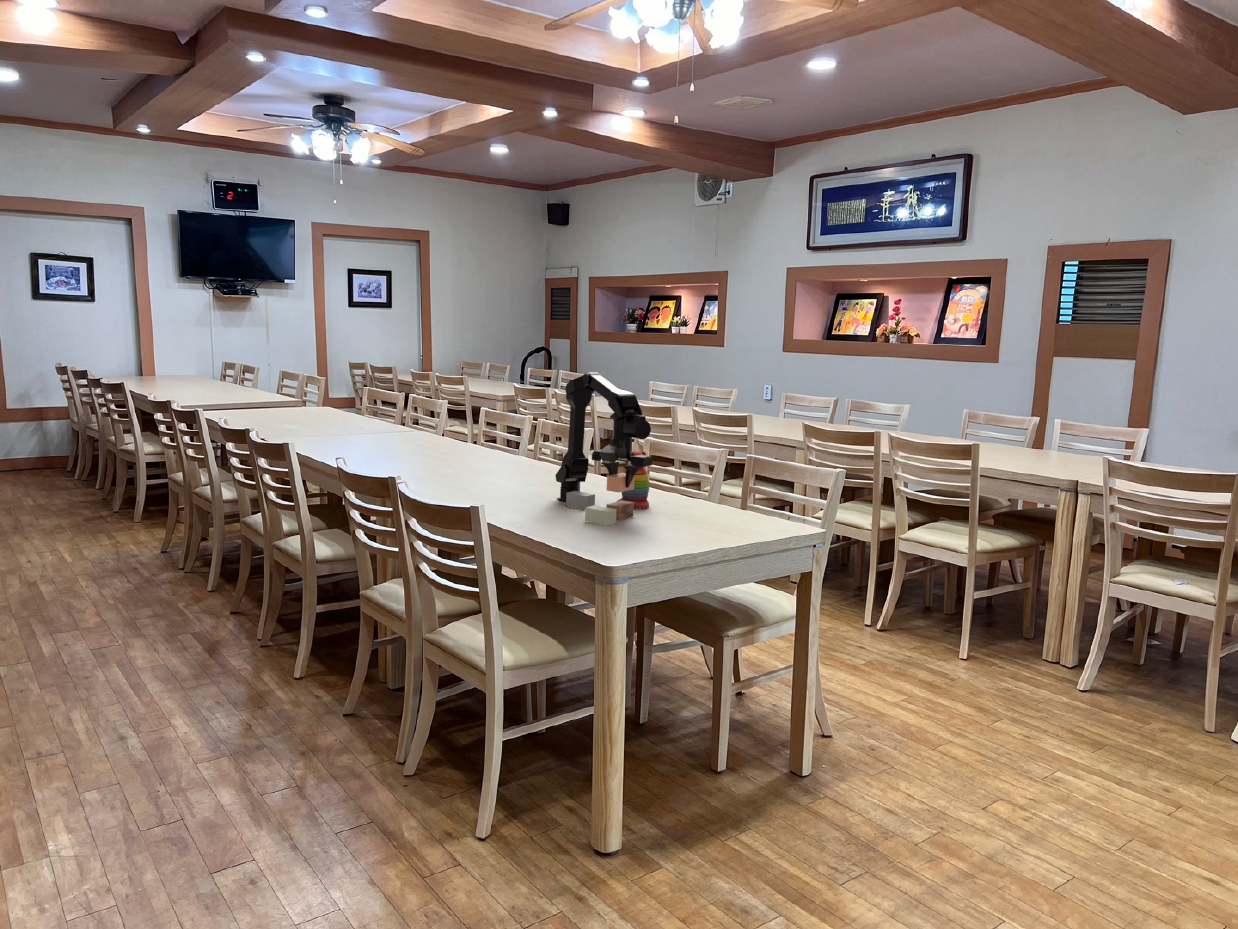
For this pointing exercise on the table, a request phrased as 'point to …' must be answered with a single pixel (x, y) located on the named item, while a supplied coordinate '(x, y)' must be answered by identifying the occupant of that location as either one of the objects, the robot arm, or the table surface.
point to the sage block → (600, 515)
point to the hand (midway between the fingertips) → (620, 486)
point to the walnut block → (622, 509)
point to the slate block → (580, 499)
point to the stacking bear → (638, 488)
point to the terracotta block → (618, 483)
